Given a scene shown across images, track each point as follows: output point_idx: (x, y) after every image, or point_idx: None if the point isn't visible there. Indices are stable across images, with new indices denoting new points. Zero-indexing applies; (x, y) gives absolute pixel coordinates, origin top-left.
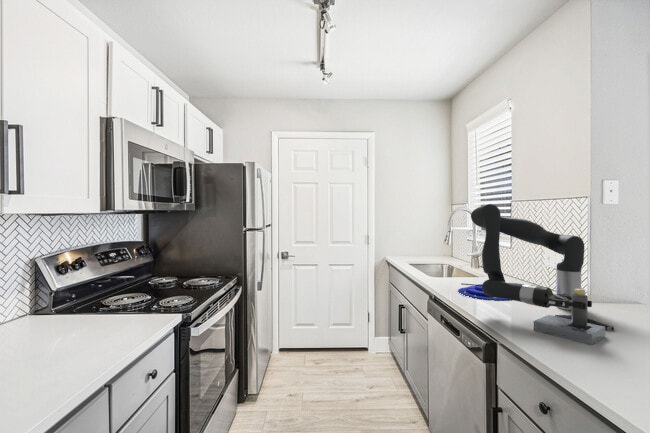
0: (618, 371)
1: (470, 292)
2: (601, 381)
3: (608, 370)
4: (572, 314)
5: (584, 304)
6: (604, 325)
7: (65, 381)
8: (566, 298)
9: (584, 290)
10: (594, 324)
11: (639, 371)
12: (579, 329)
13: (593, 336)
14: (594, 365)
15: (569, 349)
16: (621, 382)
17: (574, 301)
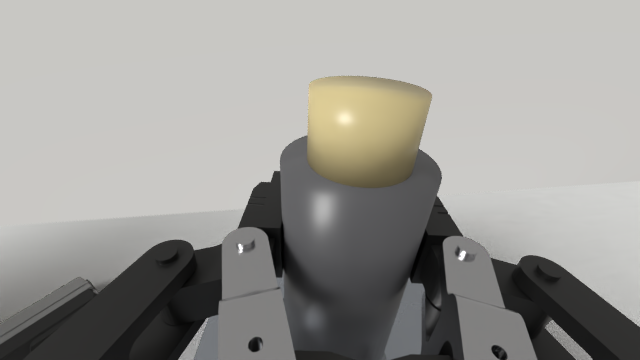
0: (535, 217)
1: None
2: (636, 227)
3: (560, 229)
4: (382, 346)
5: None
6: (78, 308)
7: None
8: (471, 297)
9: (371, 78)
10: None
11: (479, 197)
12: (400, 332)
13: None
14: (579, 253)
15: (572, 349)
16: (581, 207)
17: (446, 229)
